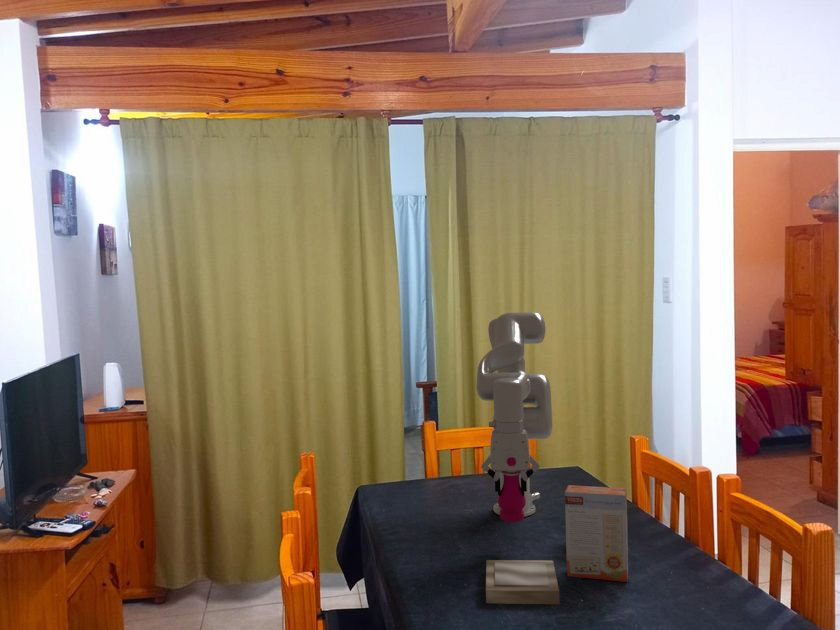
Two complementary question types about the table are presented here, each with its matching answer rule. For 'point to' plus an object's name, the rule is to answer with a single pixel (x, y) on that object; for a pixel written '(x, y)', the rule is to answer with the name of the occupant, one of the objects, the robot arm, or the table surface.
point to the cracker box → (596, 532)
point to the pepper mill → (511, 496)
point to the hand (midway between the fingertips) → (510, 493)
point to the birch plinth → (521, 582)
